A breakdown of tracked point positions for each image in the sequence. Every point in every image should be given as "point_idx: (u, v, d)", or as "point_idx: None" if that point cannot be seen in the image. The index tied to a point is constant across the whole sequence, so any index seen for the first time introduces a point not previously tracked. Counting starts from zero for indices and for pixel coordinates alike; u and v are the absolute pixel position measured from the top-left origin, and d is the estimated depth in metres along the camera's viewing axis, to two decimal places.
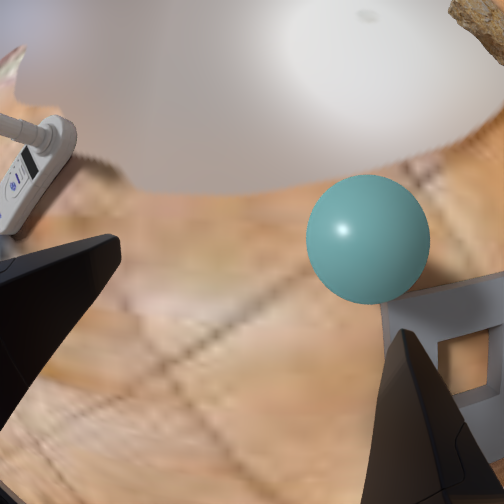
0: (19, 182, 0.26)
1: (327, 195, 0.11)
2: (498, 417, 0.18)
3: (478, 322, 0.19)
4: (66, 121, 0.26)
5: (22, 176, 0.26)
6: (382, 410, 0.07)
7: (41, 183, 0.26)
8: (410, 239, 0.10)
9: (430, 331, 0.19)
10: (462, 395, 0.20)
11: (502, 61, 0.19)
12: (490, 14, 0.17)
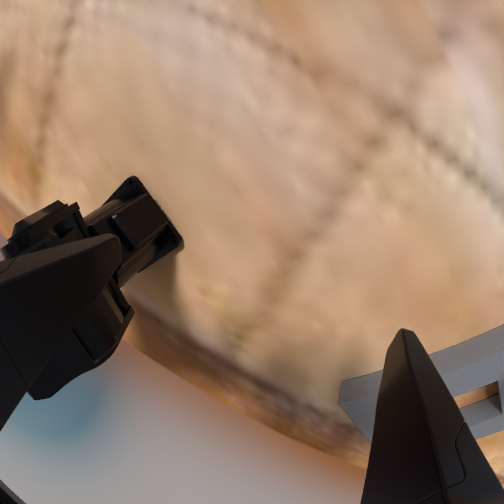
0: None
1: None
2: None
3: None
4: None
5: None
6: (382, 410, 0.07)
7: None
8: None
9: None
10: None
11: None
12: None
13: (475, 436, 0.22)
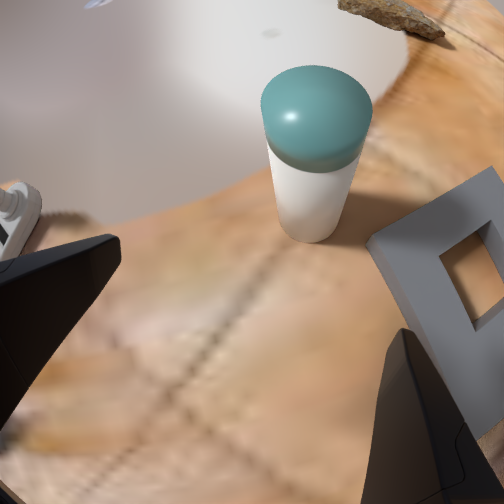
0: None
1: (269, 86, 0.12)
2: None
3: (467, 225, 0.19)
4: (30, 186, 0.26)
5: None
6: (382, 410, 0.07)
7: (12, 249, 0.25)
8: (349, 94, 0.12)
9: (426, 248, 0.19)
10: (490, 310, 0.19)
11: (395, 26, 0.27)
12: None
13: None
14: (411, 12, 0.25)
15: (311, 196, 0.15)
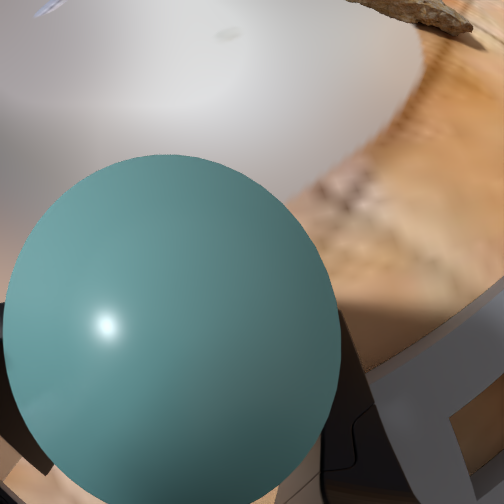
0: None
1: (22, 256, 0.04)
2: None
3: (500, 361, 0.11)
4: None
5: None
6: None
7: None
8: (255, 303, 0.03)
9: (432, 409, 0.11)
10: None
11: (407, 17, 0.19)
12: None
13: None
14: None
15: None
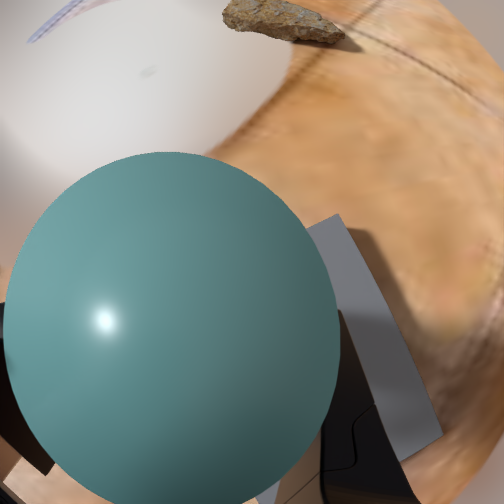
0: None
1: (23, 254, 0.04)
2: (375, 398, 0.18)
3: None
4: None
5: None
6: None
7: None
8: (255, 299, 0.03)
9: None
10: None
11: (286, 37, 0.28)
12: (260, 5, 0.27)
13: (376, 309, 0.19)
14: (303, 18, 0.26)
15: None
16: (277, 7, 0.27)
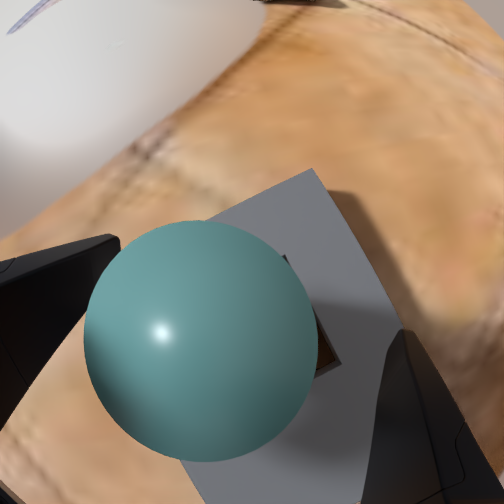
0: None
1: (100, 287, 0.06)
2: (366, 401, 0.14)
3: None
4: None
5: None
6: (382, 410, 0.07)
7: None
8: (267, 320, 0.05)
9: None
10: None
11: None
12: None
13: (364, 284, 0.15)
14: None
15: None
16: None
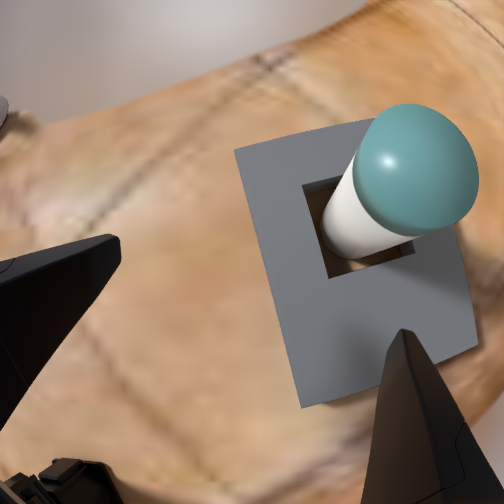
0: None
1: (377, 121, 0.10)
2: (427, 286, 0.18)
3: None
4: (1, 97, 0.25)
5: None
6: (382, 410, 0.07)
7: None
8: (460, 161, 0.09)
9: (289, 174, 0.20)
10: (369, 266, 0.21)
11: None
12: None
13: None
14: None
15: (377, 241, 0.14)
16: None
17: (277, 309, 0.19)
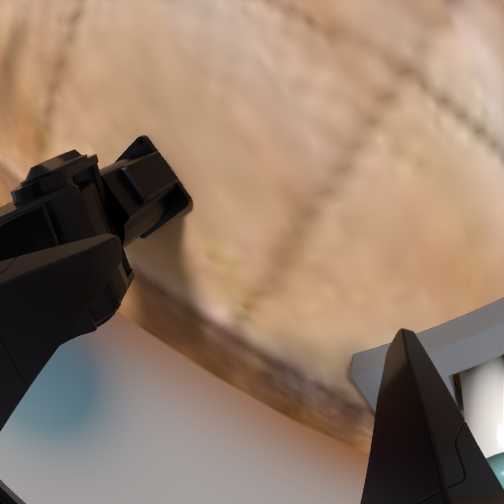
0: None
1: None
2: None
3: None
4: None
5: None
6: (382, 410, 0.07)
7: None
8: None
9: None
10: (452, 379, 0.23)
11: None
12: None
13: None
14: None
15: None
16: None
17: None
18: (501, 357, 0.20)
